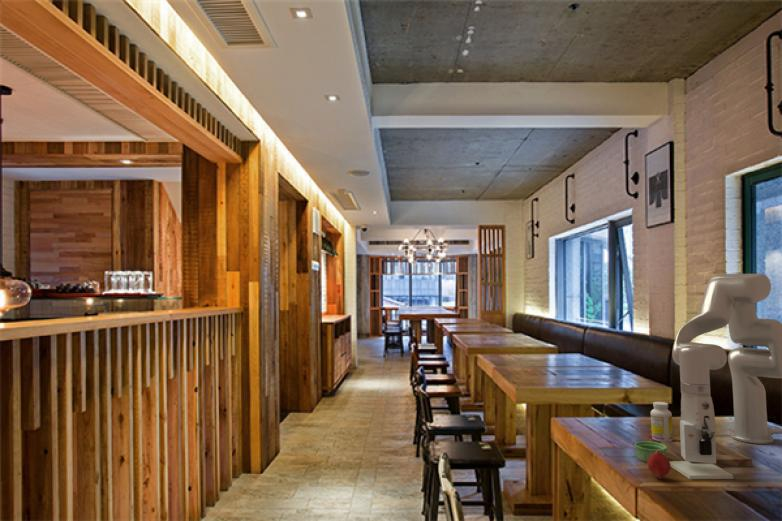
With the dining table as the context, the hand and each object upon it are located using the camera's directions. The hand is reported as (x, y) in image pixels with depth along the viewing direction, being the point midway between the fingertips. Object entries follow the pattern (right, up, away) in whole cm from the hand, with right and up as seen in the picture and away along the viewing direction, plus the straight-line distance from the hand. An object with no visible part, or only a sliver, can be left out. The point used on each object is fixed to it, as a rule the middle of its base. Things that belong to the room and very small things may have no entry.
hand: (698, 450), depth 151 cm
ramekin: (-8, -7, +11) cm, 15 cm away
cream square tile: (0, -6, 0) cm, 6 cm away
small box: (0, -3, 0) cm, 3 cm away
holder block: (+9, -7, +13) cm, 17 cm away
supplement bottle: (+6, -8, +31) cm, 32 cm away
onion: (-14, -6, -5) cm, 16 cm away
